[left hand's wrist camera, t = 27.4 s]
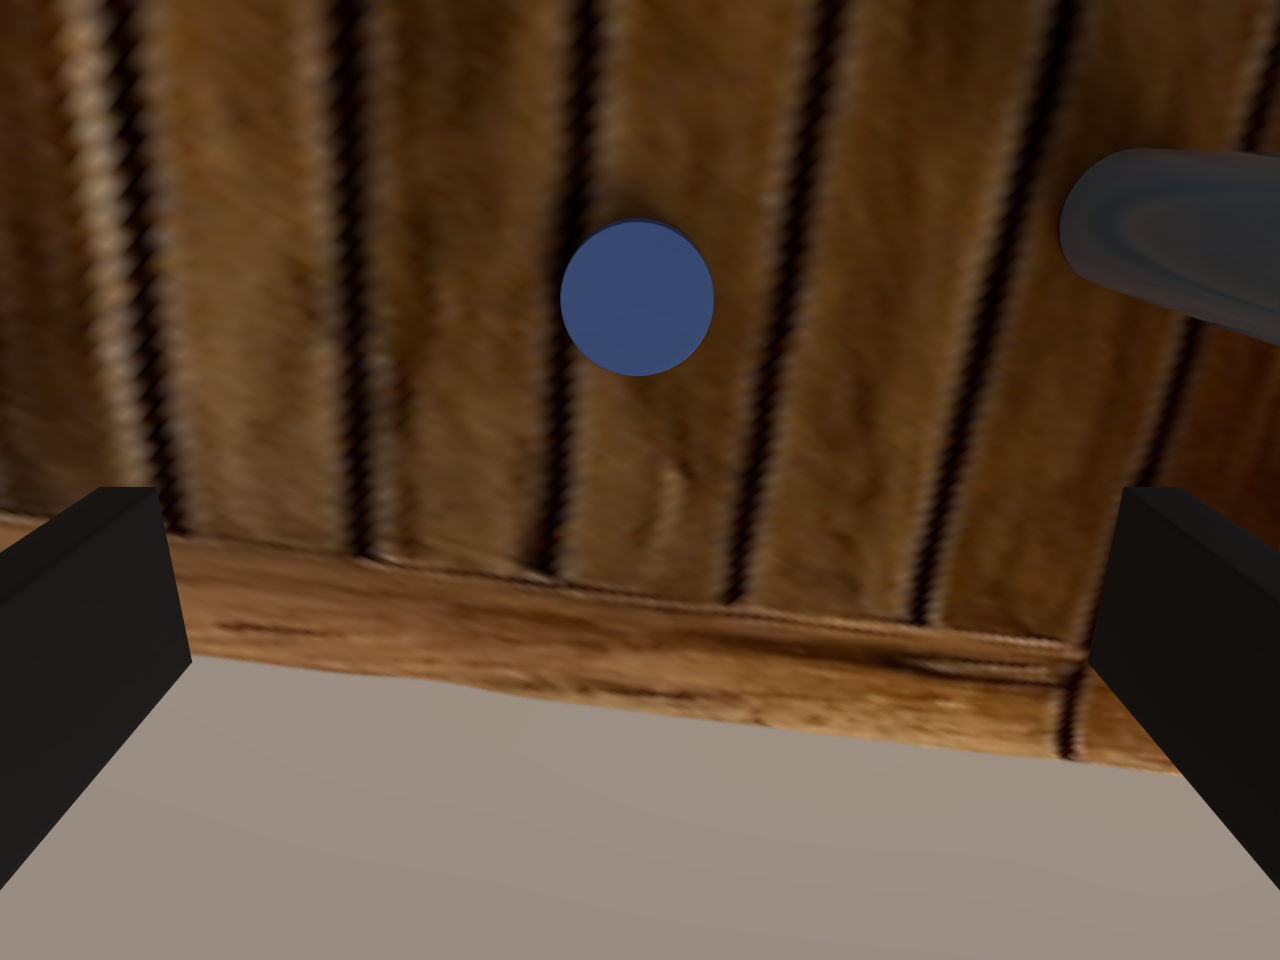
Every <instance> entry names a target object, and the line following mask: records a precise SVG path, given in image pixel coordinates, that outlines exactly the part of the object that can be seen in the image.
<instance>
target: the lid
mask: <svg viewBox="0 0 1280 960" xmlns="http://www.w3.org/2000/svg"><path fill="white" fill-rule="evenodd" d="M560 305H561V312H562V317H563V320H564V324H565V327H566V329H567V331H568V334H569V335H570V337H571V339H572V340H573V342H574V343H575V345H576V346H577V347H578V349H579V350H580V351H581V352H582V353H583V354H584V355H585V356H586V357H587V358H589V359H590V360H591V361H593V362H594V363H595V364H597V365H599V366H600V367H602V368H604V369H607V370H609V371H611V372H615V373H618V374H622V375H629V376H645V375H652V374H656V373H660V372H663V371H665V370H668V369H670V368H672V367H674V366H676V365H678V364H679V363H680V362H682V361H683V360H685V359H686V358H687V357H688V356H689V355H690V354H691V353H692V352H693V351H694V350H695V349H696V348H697V347H698V345H699V344H700V342H701V341H702V339H703V338H704V336H705V334H706V332H707V330H708V328H709V325H710V322H711V318H712V314H713V308H714V291H713V284H712V279H711V276H710V273H709V270H708V268H707V266H706V263H705V261H704V260H703V258H702V256H701V254H700V252H699V251H698V249H697V248H696V247H695V245H694V244H693V243H692V242H691V241H690V240H689V239H688V238H687V237H686V236H685V235H684V234H683V233H681V232H680V231H679V230H677V229H675V228H674V227H672V226H670V225H668V224H666V223H663V222H660V221H657V220H653V219H647V218H627V219H621V220H618V221H614V222H611V223H609V224H607V225H604V226H603V227H601V228H599V229H597V230H596V231H594V232H593V233H592V234H591V235H589V236H588V237H587V238H586V239H585V240H584V241H583V242H582V243H581V245H580V246H579V247H578V249H577V250H576V251H575V253H574V255H573V257H572V258H571V260H570V262H569V264H568V266H567V268H566V271H565V274H564V277H563V281H562V285H561V293H560Z"/></svg>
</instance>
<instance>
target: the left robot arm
mask: <svg viewBox="0 0 1280 960" xmlns="http://www.w3.org/2000/svg"><path fill="white" fill-rule="evenodd" d="M191 663H192V659H191V654H190V649H189V644H188V639H187V635H186V630H185V625H184V620H183V615H182V610H181V605H180V601H179V596H178V591H177V586H176V581H175V576H174V571H173V567H172V562H171V557H170V552H169V547H168V542H167V537H166V532H165V528H164V523H163V518H162V513H161V508H160V503H159V498H158V494H157V489H156V487H99V488H97V489H96V490H94V491H93V492H91V493H90V494H88V495H87V496H85V497H84V498H82V499H81V500H79V501H78V502H76V503H75V504H73V505H72V506H70V507H69V508H67V509H66V510H64V511H63V512H61V513H60V514H58V515H57V516H55V517H54V518H52V519H51V520H49V521H48V522H46V523H45V524H43V525H42V526H40V527H39V528H37V529H36V530H34V531H32V532H31V533H29V534H28V535H26V536H25V537H23V538H22V539H20V540H19V541H17V542H16V543H14V544H13V545H11V546H10V547H8V548H7V549H5V550H4V551H2V552H1V553H0V890H1V889H2V888H3V886H4V885H5V884H6V883H7V882H8V880H9V879H10V878H11V877H12V876H13V874H14V873H15V872H16V871H17V870H18V869H19V867H20V866H21V865H22V864H23V863H24V861H25V860H26V859H27V858H28V857H29V855H30V854H31V853H32V852H33V851H34V849H35V848H36V847H37V846H38V845H39V844H40V842H41V841H42V840H43V839H44V838H45V836H46V835H47V834H48V833H49V832H50V830H51V829H52V828H53V827H54V826H55V825H56V823H57V822H58V821H59V820H60V819H61V817H62V816H63V815H64V814H65V813H66V811H67V810H68V809H69V808H70V807H71V805H72V804H73V803H74V802H75V801H76V800H77V798H78V797H79V796H80V795H81V794H82V792H83V791H84V790H85V789H86V788H87V787H88V785H89V784H90V783H91V782H92V781H93V779H94V778H95V777H96V776H97V775H98V773H99V772H100V771H101V770H102V769H103V767H104V766H105V765H106V764H107V763H108V762H109V760H110V759H111V758H112V757H113V756H114V754H115V753H116V752H117V751H118V750H119V748H120V747H121V746H122V745H123V744H124V743H125V741H126V740H127V739H128V738H129V737H130V735H131V734H132V733H133V732H134V731H135V729H136V728H137V727H138V726H139V725H140V723H141V722H142V721H143V720H144V719H145V717H146V716H147V715H148V714H149V713H150V712H151V710H152V709H153V708H154V707H155V706H156V704H157V703H158V702H159V701H160V700H161V699H162V697H163V696H164V695H165V694H166V693H167V691H168V690H169V689H170V688H171V687H172V685H173V684H174V683H175V682H176V681H177V680H178V678H179V677H180V676H181V675H182V674H183V672H184V671H185V670H186V669H187V668H188V666H189V665H190V664H191ZM1088 663H1089V664H1090V665H1091V666H1092V668H1093V669H1094V670H1095V671H1096V672H1097V674H1098V675H1099V676H1100V677H1101V678H1102V680H1103V681H1104V682H1105V683H1106V684H1107V685H1108V687H1109V688H1110V689H1111V690H1112V691H1113V693H1114V694H1115V695H1116V696H1117V697H1118V699H1119V700H1120V701H1121V702H1122V703H1123V704H1124V706H1125V707H1126V708H1127V709H1128V710H1129V712H1130V713H1131V714H1132V715H1133V716H1134V718H1135V719H1136V720H1137V721H1138V722H1139V724H1140V725H1141V726H1142V727H1143V728H1144V729H1145V731H1146V732H1147V733H1148V734H1149V735H1150V737H1151V738H1152V739H1153V740H1154V741H1155V743H1156V744H1157V745H1158V746H1159V747H1160V748H1161V750H1162V751H1163V752H1164V753H1165V754H1166V756H1167V757H1168V758H1169V759H1170V760H1171V762H1172V763H1173V764H1174V765H1175V766H1176V767H1177V769H1178V770H1179V771H1180V772H1181V773H1182V775H1183V776H1184V777H1185V778H1186V779H1187V781H1188V782H1189V783H1190V784H1191V785H1192V787H1193V788H1194V789H1195V790H1196V791H1197V792H1198V794H1199V795H1200V796H1201V797H1202V798H1203V800H1204V801H1205V802H1206V803H1207V804H1208V806H1209V807H1210V808H1211V809H1212V810H1213V811H1214V813H1215V814H1216V815H1217V816H1218V817H1219V819H1220V820H1221V821H1222V822H1223V823H1224V825H1225V826H1226V827H1227V828H1228V829H1229V830H1230V832H1231V833H1232V834H1233V835H1234V836H1235V838H1236V839H1237V840H1238V841H1239V842H1240V844H1241V845H1242V846H1243V847H1244V848H1245V850H1246V851H1247V852H1248V853H1249V854H1250V855H1251V857H1252V858H1253V859H1254V860H1255V861H1256V863H1257V864H1258V865H1259V866H1260V867H1261V869H1262V870H1263V871H1264V872H1265V873H1266V874H1267V876H1268V877H1269V878H1270V879H1271V880H1272V882H1273V883H1274V884H1275V885H1276V886H1277V888H1278V889H1279V890H1280V553H1279V552H1278V551H1276V550H1275V549H1273V548H1272V547H1270V546H1269V545H1267V544H1266V543H1264V542H1263V541H1261V540H1260V539H1258V538H1257V537H1255V536H1254V535H1252V534H1251V533H1249V532H1248V531H1246V530H1244V529H1243V528H1241V527H1240V526H1238V525H1237V524H1235V523H1234V522H1232V521H1231V520H1229V519H1228V518H1226V517H1225V516H1223V515H1222V514H1220V513H1219V512H1217V511H1216V510H1214V509H1213V508H1211V507H1210V506H1208V505H1207V504H1205V503H1204V502H1202V501H1201V500H1199V499H1198V498H1196V497H1195V496H1193V495H1192V494H1190V493H1189V492H1187V491H1186V490H1184V489H1183V488H1181V487H1124V489H1123V494H1122V498H1121V503H1120V508H1119V513H1118V518H1117V523H1116V528H1115V532H1114V537H1113V542H1112V547H1111V552H1110V557H1109V562H1108V566H1107V571H1106V576H1105V581H1104V586H1103V591H1102V596H1101V601H1100V605H1099V610H1098V615H1097V620H1096V625H1095V630H1094V635H1093V639H1092V644H1091V649H1090V654H1089V659H1088Z"/></svg>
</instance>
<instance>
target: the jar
mask: <svg viewBox="0 0 1280 960" xmlns="http://www.w3.org/2000/svg"><path fill="white" fill-rule="evenodd" d="M1059 234H1060V243H1061V248H1062V251H1063V254H1064V256H1065V258H1066V260H1067V262H1068V263H1069V265H1070V266H1071V268H1072V269H1073V270H1074V271H1075V272H1076V273H1077V274H1078V275H1079V276H1081V277H1082V278H1083V279H1085V280H1087V281H1089V282H1091V283H1093V284H1096V285H1099V286H1102V287H1105V288H1107V289H1110V290H1113V291H1116V292H1119V293H1122V294H1125V295H1128V296H1131V297H1134V298H1137V299H1140V300H1143V301H1146V302H1149V303H1152V304H1155V305H1157V306H1160V307H1163V308H1166V309H1169V310H1172V311H1175V312H1178V313H1181V314H1184V315H1187V316H1190V317H1193V318H1196V319H1199V320H1202V321H1205V322H1208V323H1210V324H1213V325H1216V326H1219V327H1222V328H1225V329H1228V330H1231V331H1234V332H1237V333H1240V334H1243V335H1246V336H1249V337H1252V338H1255V339H1258V340H1260V341H1263V342H1266V343H1269V344H1272V345H1275V346H1278V347H1280V153H1277V152H1249V151H1221V150H1194V149H1166V148H1130V149H1126V150H1121V151H1119V152H1116V153H1113V154H1111V155H1109V156H1107V157H1105V158H1103V159H1101V160H1100V161H1098V162H1097V163H1095V164H1094V165H1093V166H1092V167H1090V168H1089V169H1088V170H1087V171H1086V172H1085V173H1084V174H1083V175H1082V176H1081V177H1080V178H1079V180H1078V181H1077V182H1076V184H1075V185H1074V186H1073V188H1072V190H1071V191H1070V193H1069V195H1068V197H1067V199H1066V201H1065V204H1064V207H1063V210H1062V214H1061V218H1060V227H1059Z"/></svg>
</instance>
